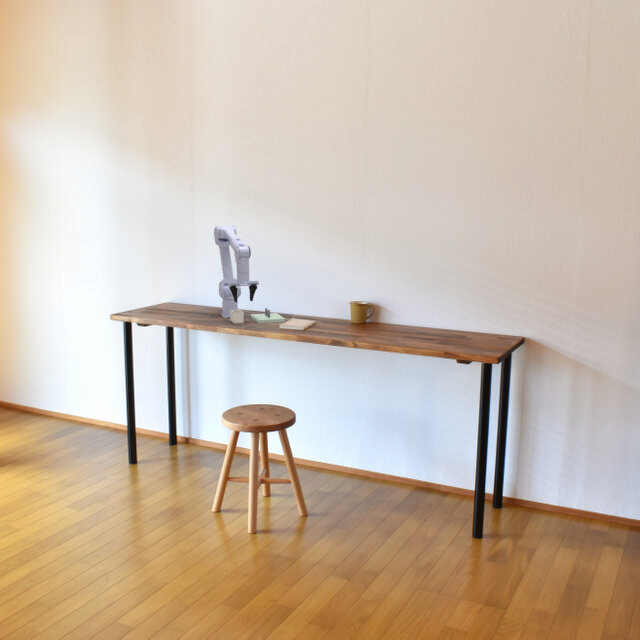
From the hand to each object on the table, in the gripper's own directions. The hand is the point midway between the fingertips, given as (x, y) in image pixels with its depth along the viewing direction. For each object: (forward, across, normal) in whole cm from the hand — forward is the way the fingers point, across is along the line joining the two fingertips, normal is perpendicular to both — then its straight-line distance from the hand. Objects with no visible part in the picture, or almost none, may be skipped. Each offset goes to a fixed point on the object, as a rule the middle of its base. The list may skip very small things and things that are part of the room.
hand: (243, 301), depth 364 cm
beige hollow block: (+10, -2, +3) cm, 11 cm away
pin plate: (+10, +13, +2) cm, 16 cm away
